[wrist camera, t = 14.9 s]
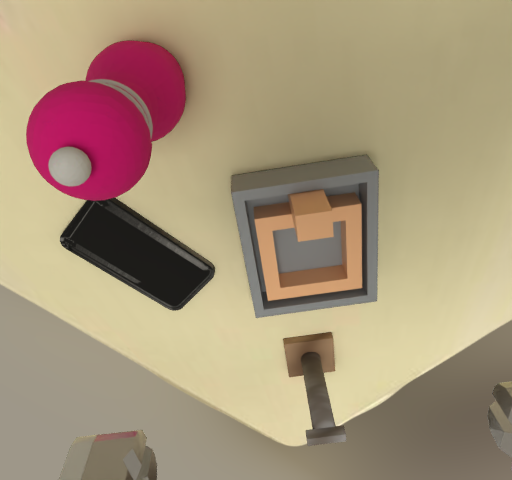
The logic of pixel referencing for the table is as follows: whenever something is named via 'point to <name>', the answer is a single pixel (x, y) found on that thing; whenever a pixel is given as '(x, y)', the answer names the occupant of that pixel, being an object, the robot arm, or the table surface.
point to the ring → (310, 228)
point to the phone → (137, 252)
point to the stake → (315, 383)
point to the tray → (312, 251)
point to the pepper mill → (107, 121)
